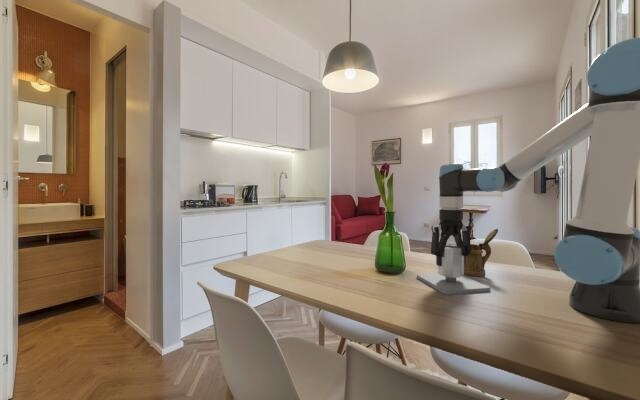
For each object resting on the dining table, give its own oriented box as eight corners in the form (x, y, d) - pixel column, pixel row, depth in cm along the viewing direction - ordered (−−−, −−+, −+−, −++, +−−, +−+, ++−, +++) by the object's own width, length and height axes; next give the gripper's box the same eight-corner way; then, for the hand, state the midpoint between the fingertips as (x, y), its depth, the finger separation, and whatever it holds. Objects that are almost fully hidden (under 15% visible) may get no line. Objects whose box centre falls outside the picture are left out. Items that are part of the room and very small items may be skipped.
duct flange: (490, 291, 92) (490, 266, 92) (445, 294, 89) (445, 269, 89) (455, 275, 110) (455, 254, 109) (416, 277, 107) (416, 256, 107)
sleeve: (453, 271, 103) (453, 244, 103) (465, 277, 97) (465, 247, 96) (436, 272, 102) (436, 245, 102) (448, 278, 96) (448, 248, 95)
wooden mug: (501, 278, 105) (501, 230, 104) (460, 275, 109) (460, 229, 109) (495, 272, 113) (495, 227, 113) (457, 269, 118) (457, 226, 117)
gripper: (468, 207, 104) (468, 269, 105) (419, 208, 101) (419, 272, 101) (483, 208, 97) (483, 275, 97) (431, 210, 93) (431, 279, 94)
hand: (450, 274), depth 99 cm, fingers closed on sleeve, 7 cm apart
